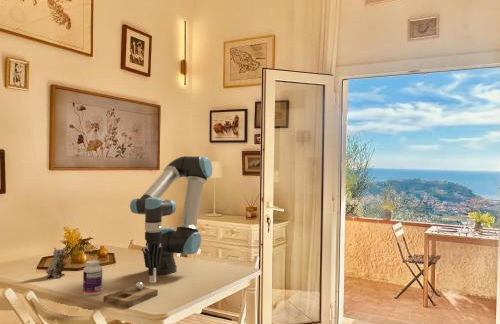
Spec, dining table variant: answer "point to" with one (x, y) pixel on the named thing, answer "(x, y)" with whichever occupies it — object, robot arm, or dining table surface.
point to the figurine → (57, 264)
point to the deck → (130, 296)
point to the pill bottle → (92, 278)
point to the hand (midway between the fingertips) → (152, 281)
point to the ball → (139, 285)
